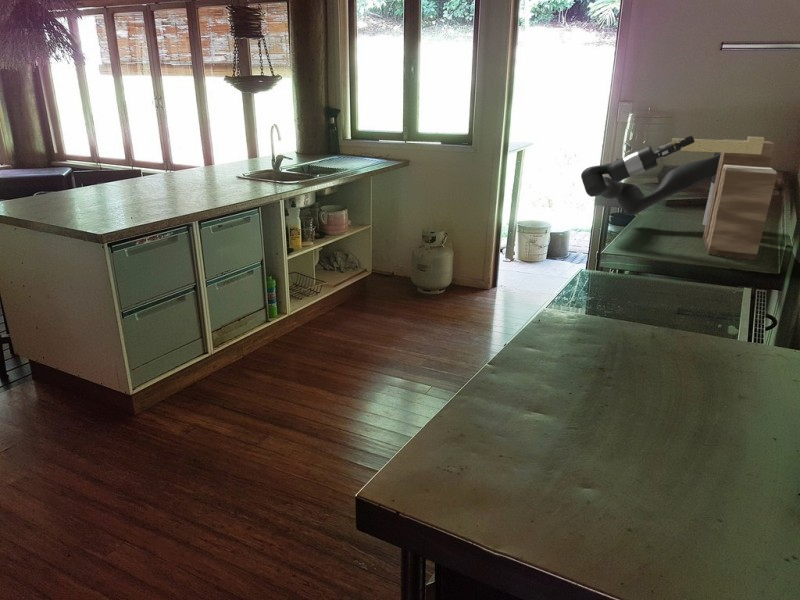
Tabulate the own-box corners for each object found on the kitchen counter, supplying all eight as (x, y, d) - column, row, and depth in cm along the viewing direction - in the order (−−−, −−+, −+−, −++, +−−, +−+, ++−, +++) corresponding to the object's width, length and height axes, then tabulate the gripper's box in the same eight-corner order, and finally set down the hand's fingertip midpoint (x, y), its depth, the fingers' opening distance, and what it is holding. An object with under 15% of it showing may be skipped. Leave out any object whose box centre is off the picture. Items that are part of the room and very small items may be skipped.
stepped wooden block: (702, 237, 215) (723, 138, 203) (744, 242, 210) (769, 141, 198) (708, 254, 193) (732, 144, 180) (755, 260, 188) (783, 147, 175)
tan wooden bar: (670, 149, 194) (673, 133, 192) (758, 152, 185) (762, 136, 183) (670, 150, 190) (673, 134, 188) (760, 154, 180) (764, 138, 179)
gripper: (644, 169, 203) (696, 147, 195) (643, 174, 191) (698, 151, 183) (636, 149, 202) (688, 126, 194) (635, 153, 190) (690, 129, 182)
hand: (693, 138), depth 188 cm, fingers closed on tan wooden bar, 3 cm apart
